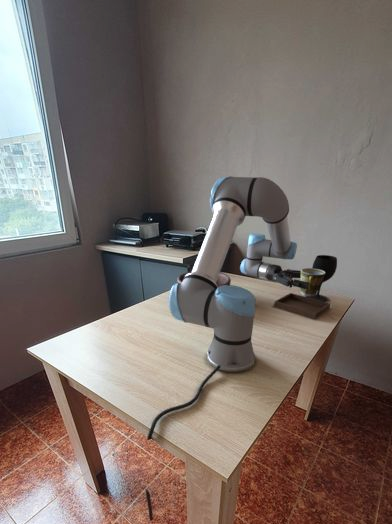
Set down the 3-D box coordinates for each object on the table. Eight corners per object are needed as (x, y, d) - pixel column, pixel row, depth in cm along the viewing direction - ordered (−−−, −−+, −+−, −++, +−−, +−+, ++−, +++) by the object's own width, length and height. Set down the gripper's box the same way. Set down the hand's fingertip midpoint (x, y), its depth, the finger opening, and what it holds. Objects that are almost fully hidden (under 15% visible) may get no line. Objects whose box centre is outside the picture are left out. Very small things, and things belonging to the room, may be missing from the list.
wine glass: (330, 297, 144) (340, 256, 134) (325, 304, 136) (336, 261, 126) (308, 293, 149) (317, 253, 138) (303, 299, 141) (312, 257, 131)
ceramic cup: (297, 288, 134) (302, 267, 129) (320, 291, 131) (326, 269, 126) (294, 297, 124) (298, 274, 119) (318, 301, 121) (324, 278, 115)
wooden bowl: (197, 287, 155) (197, 267, 150) (238, 297, 142) (240, 276, 137) (167, 300, 137) (166, 279, 132) (210, 313, 125) (211, 290, 120)
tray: (314, 319, 121) (316, 313, 120) (273, 307, 133) (274, 301, 131) (329, 309, 131) (330, 303, 130) (289, 298, 142) (290, 292, 141)
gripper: (282, 274, 145) (324, 284, 133) (255, 286, 130) (300, 298, 117) (284, 259, 141) (328, 268, 129) (257, 269, 126) (304, 280, 114)
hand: (315, 282), depth 123 cm, fingers closed on ceramic cup, 12 cm apart
